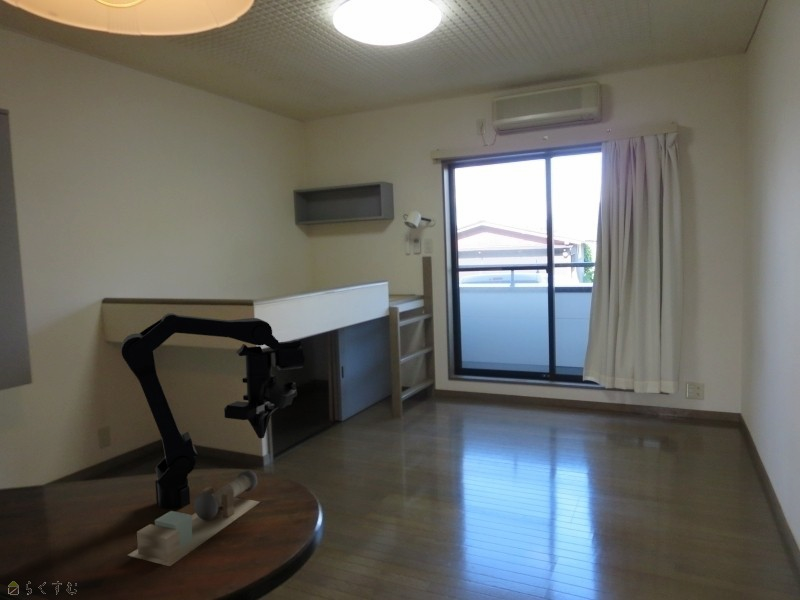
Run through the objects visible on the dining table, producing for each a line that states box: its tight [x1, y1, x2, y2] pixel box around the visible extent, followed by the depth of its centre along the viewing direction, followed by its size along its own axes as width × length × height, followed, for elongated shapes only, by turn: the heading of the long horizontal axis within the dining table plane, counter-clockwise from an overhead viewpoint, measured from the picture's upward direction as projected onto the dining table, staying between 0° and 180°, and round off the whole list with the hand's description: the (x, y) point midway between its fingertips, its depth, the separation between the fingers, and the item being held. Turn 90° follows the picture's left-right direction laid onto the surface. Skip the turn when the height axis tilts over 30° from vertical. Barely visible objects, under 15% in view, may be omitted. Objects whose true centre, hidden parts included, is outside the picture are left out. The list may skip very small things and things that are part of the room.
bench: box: [127, 486, 261, 567], centre depth 108 cm, size 10×26×6 cm, turn 158°
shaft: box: [193, 469, 258, 520], centre depth 116 cm, size 5×15×5 cm, turn 158°
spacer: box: [154, 510, 193, 548], centre depth 102 cm, size 5×4×5 cm
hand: (261, 437), depth 127 cm, fingers closed
